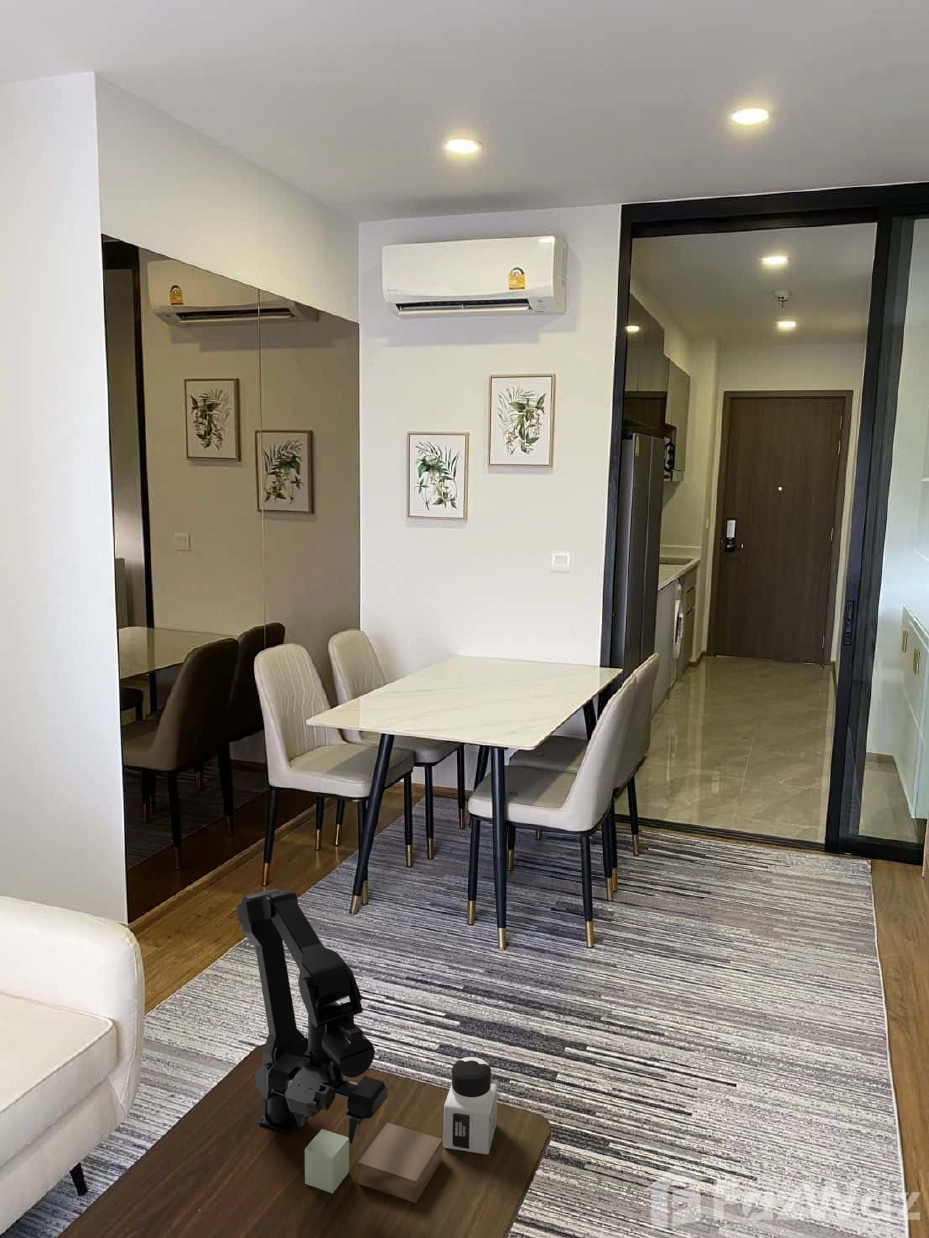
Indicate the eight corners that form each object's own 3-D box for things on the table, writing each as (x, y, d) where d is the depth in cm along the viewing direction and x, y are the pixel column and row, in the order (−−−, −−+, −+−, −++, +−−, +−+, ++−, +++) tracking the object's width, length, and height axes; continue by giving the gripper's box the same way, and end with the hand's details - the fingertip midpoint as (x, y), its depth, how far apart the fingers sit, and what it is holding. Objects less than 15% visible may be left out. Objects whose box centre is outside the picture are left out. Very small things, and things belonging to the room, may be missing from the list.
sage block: (304, 1183, 145) (304, 1148, 144) (321, 1162, 149) (321, 1128, 148) (332, 1193, 143) (332, 1158, 142) (348, 1172, 147) (348, 1137, 146)
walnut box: (358, 1185, 145) (358, 1162, 144) (387, 1144, 154) (387, 1122, 154) (415, 1204, 141) (416, 1181, 141) (442, 1161, 150) (442, 1139, 150)
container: (488, 1155, 151) (490, 1082, 150) (442, 1148, 153) (443, 1076, 151) (496, 1124, 159) (498, 1054, 157) (452, 1117, 160) (453, 1048, 159)
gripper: (245, 1055, 139) (246, 1149, 141) (353, 1088, 132) (353, 1187, 134) (286, 1017, 149) (287, 1105, 151) (389, 1046, 142) (388, 1138, 144)
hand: (326, 1133), depth 145 cm, fingers open, 9 cm apart
